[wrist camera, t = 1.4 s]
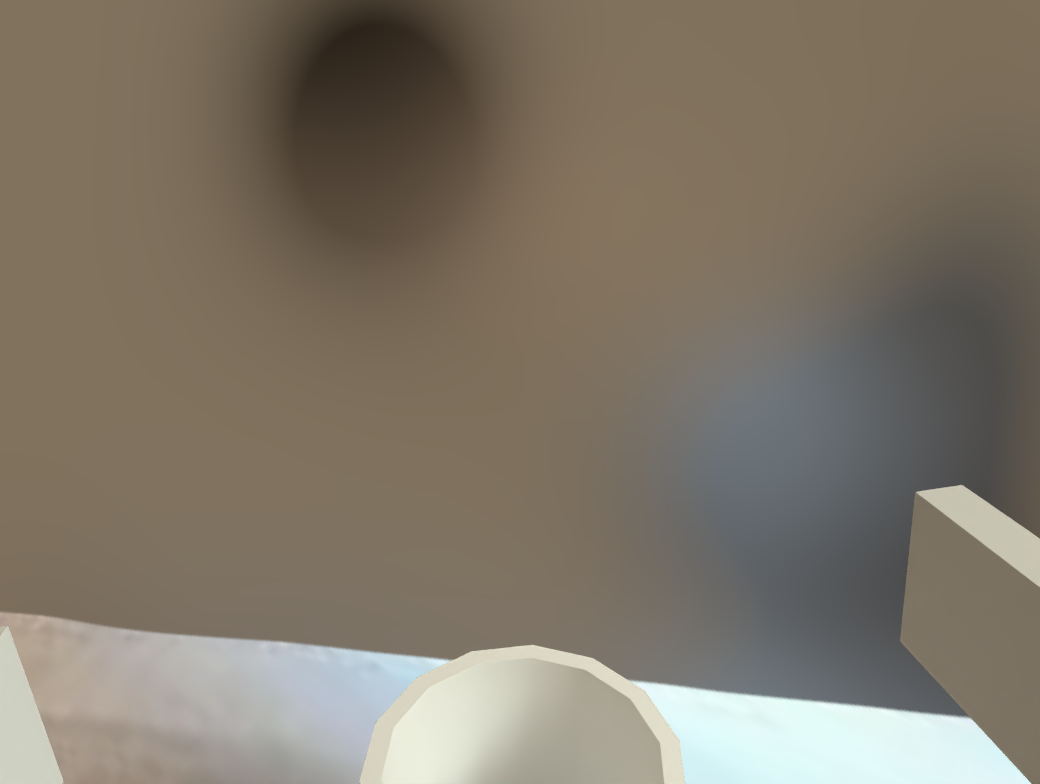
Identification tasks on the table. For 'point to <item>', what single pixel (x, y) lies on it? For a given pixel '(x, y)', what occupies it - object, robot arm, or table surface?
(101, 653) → the table surface
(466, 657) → the foam cup
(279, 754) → the table surface
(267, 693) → the table surface
